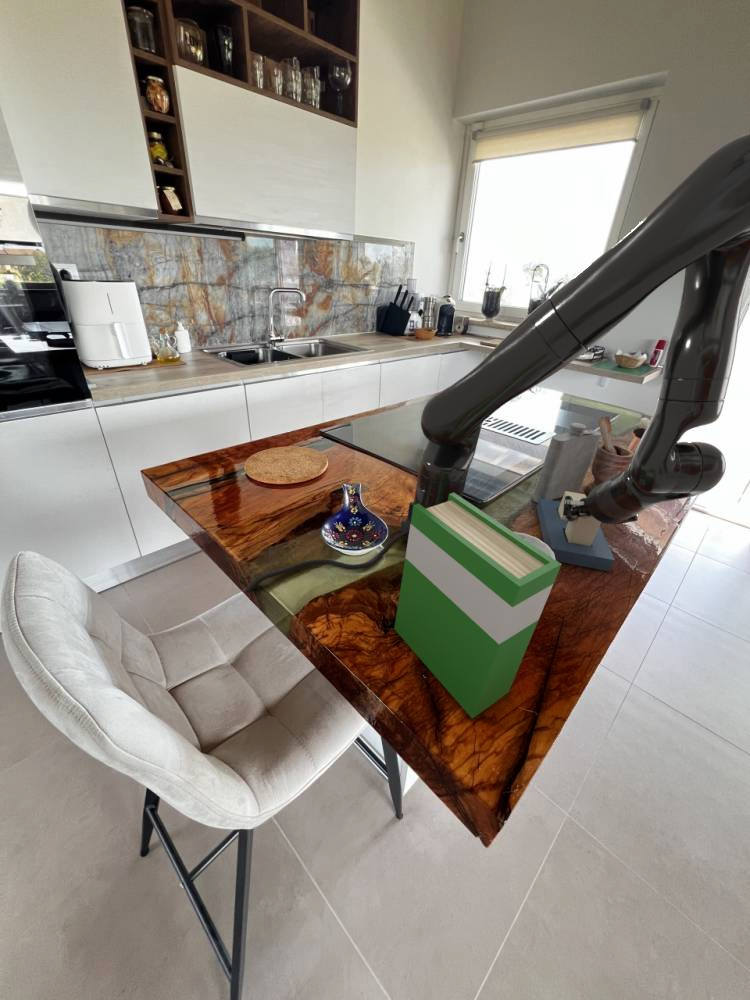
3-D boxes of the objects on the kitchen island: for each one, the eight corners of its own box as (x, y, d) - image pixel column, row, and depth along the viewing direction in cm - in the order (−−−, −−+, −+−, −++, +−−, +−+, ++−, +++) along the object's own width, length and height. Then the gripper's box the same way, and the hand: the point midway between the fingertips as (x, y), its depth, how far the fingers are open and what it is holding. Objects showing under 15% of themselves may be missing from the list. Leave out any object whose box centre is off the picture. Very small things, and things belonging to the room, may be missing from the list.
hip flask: (539, 504, 106) (563, 431, 96) (527, 496, 109) (550, 425, 98) (580, 493, 113) (607, 424, 102) (568, 486, 116) (594, 419, 105)
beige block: (590, 547, 87) (604, 515, 83) (568, 542, 88) (581, 511, 84) (585, 535, 91) (598, 504, 87) (564, 531, 92) (576, 500, 88)
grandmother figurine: (618, 449, 143) (633, 414, 136) (626, 448, 144) (642, 414, 138) (636, 459, 137) (652, 423, 130) (644, 458, 138) (661, 422, 131)
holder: (547, 559, 87) (552, 548, 85) (536, 508, 104) (539, 497, 103) (609, 571, 85) (615, 560, 83) (587, 517, 103) (591, 507, 101)
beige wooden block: (557, 529, 97) (568, 500, 93) (554, 519, 101) (565, 490, 96) (577, 533, 96) (589, 504, 92) (573, 522, 100) (585, 494, 96)
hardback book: (394, 628, 67) (413, 505, 55) (428, 611, 71) (453, 492, 59) (472, 718, 55) (519, 586, 43) (508, 692, 59) (561, 564, 47)
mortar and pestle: (565, 486, 116) (591, 419, 105) (578, 478, 121) (603, 412, 111) (608, 504, 109) (639, 433, 99) (619, 494, 114) (650, 426, 104)
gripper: (663, 485, 72) (617, 508, 89) (578, 471, 75) (549, 496, 91) (661, 526, 71) (615, 541, 87) (574, 511, 73) (545, 529, 89)
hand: (581, 518), depth 89 cm, fingers closed on beige block, 4 cm apart
